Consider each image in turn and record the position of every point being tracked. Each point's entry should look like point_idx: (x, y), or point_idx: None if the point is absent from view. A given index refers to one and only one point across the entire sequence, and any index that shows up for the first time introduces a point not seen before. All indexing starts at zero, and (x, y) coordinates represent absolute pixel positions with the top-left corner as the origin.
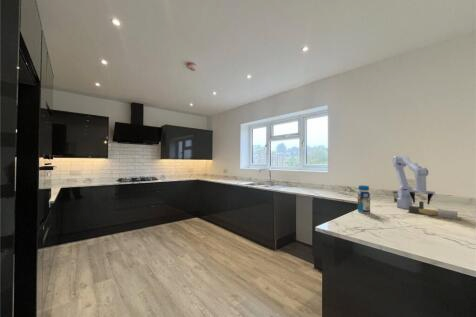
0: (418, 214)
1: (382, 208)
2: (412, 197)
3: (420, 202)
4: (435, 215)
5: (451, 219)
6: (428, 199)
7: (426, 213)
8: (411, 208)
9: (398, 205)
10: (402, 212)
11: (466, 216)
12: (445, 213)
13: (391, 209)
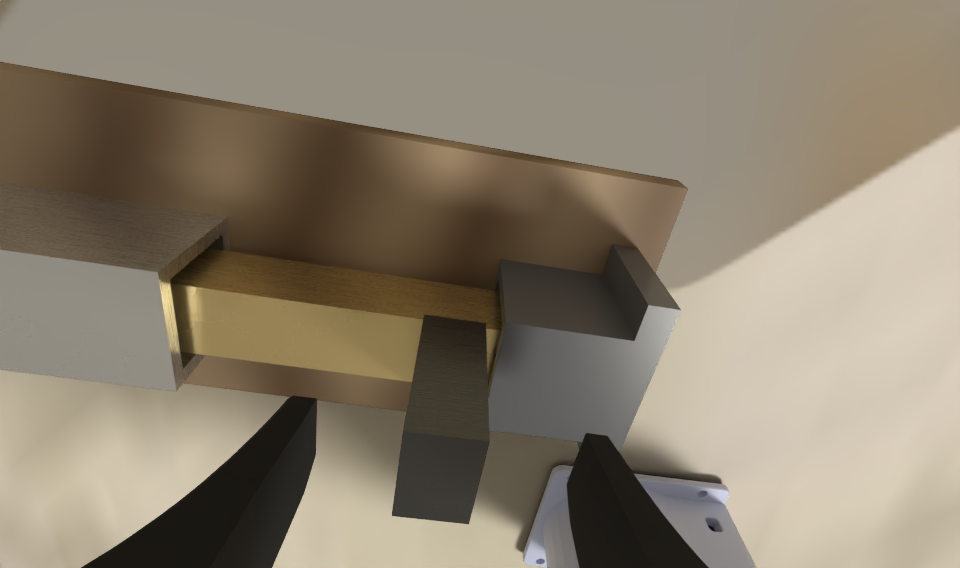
0: (506, 175)
1: (941, 414)
2: (688, 563)
3: (463, 423)
4: None
5: (7, 78)
6: (225, 503)
7: None
8: (617, 316)
9: (728, 542)
10: (710, 298)
11: (18, 513)
12: (64, 228)
13: (818, 418)
